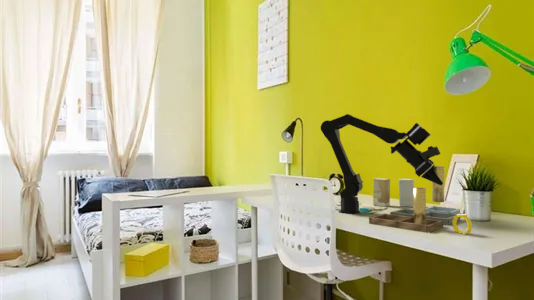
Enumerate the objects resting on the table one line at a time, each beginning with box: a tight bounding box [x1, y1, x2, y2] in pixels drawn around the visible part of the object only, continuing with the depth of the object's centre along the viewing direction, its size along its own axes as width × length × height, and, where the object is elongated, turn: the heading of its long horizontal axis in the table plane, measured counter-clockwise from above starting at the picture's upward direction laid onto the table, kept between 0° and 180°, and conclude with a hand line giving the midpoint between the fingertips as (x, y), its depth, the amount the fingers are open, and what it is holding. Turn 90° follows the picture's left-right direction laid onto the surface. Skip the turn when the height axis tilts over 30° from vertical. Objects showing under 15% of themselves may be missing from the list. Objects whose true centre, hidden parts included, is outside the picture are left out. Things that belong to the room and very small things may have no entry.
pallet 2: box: [389, 208, 461, 226], centre depth 138 cm, size 21×11×2 cm, turn 44°
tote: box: [426, 205, 461, 215], centre depth 147 cm, size 11×11×2 cm
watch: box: [452, 213, 473, 235], centre depth 115 cm, size 6×3×6 cm, turn 20°
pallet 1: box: [368, 213, 444, 233], centre depth 128 cm, size 21×11×2 cm, turn 44°
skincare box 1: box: [372, 177, 391, 208], centre depth 170 cm, size 6×4×12 cm
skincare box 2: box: [398, 178, 415, 208], centre depth 168 cm, size 6×4×12 cm
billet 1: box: [412, 186, 427, 225], centre depth 124 cm, size 4×4×13 cm
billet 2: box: [431, 165, 445, 203], centre depth 140 cm, size 4×4×13 cm
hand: (442, 183), depth 139 cm, fingers closed on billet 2, 4 cm apart
